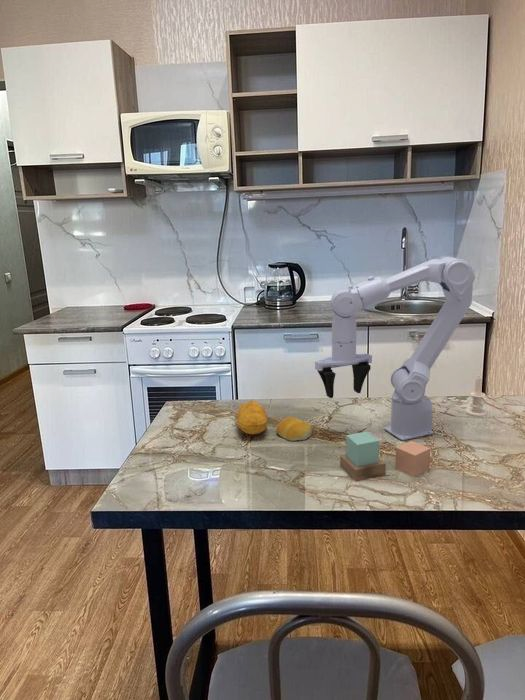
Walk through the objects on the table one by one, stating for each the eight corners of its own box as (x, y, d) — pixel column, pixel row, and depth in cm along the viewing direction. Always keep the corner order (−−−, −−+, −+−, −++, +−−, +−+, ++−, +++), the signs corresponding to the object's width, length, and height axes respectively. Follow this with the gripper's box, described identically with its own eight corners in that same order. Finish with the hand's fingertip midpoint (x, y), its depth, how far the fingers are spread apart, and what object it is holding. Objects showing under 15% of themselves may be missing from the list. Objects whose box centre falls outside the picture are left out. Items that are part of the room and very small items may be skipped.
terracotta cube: (410, 461, 115) (411, 440, 114) (429, 469, 111) (430, 448, 110) (395, 468, 112) (395, 447, 111) (414, 477, 109) (415, 455, 107)
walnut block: (368, 461, 116) (368, 449, 116) (385, 476, 110) (385, 463, 109) (340, 467, 114) (340, 455, 114) (355, 482, 108) (355, 469, 107)
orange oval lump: (264, 419, 141) (263, 395, 140) (270, 440, 128) (269, 414, 126) (235, 421, 141) (234, 397, 139) (239, 443, 127) (238, 417, 126)
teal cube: (366, 452, 114) (366, 431, 113) (378, 462, 110) (379, 440, 108) (346, 456, 113) (346, 435, 111) (357, 466, 108) (357, 444, 107)
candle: (463, 409, 143) (466, 373, 140) (483, 409, 142) (486, 373, 139) (468, 416, 138) (471, 379, 135) (489, 417, 137) (492, 379, 134)
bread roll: (296, 445, 126) (295, 430, 125) (271, 434, 132) (270, 419, 131) (319, 435, 131) (319, 420, 130) (294, 425, 137) (294, 410, 136)
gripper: (361, 333, 130) (360, 385, 134) (309, 340, 125) (309, 393, 129) (377, 339, 124) (376, 393, 127) (322, 347, 119) (323, 403, 122)
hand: (343, 394), depth 128 cm, fingers open, 7 cm apart
